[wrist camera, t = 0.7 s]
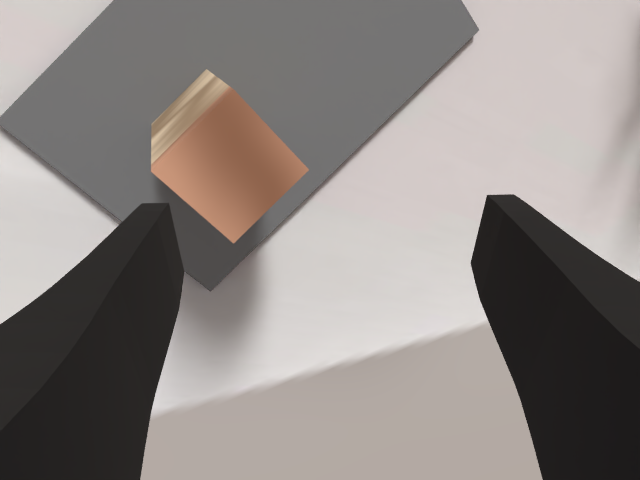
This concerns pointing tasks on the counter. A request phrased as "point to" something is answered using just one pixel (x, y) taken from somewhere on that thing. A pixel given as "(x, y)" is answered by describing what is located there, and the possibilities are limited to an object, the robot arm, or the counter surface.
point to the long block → (221, 156)
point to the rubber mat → (245, 78)
